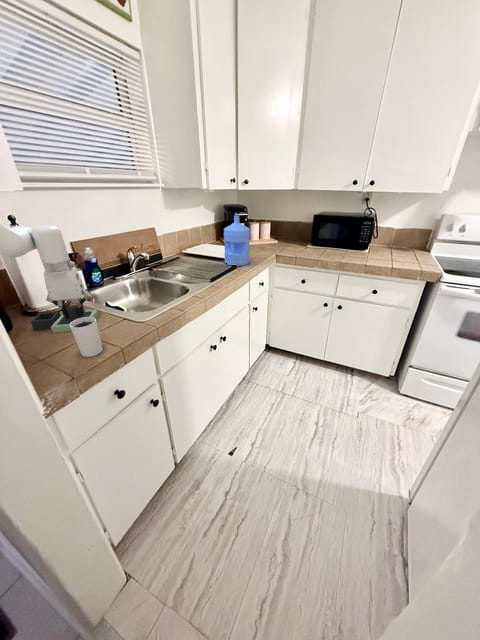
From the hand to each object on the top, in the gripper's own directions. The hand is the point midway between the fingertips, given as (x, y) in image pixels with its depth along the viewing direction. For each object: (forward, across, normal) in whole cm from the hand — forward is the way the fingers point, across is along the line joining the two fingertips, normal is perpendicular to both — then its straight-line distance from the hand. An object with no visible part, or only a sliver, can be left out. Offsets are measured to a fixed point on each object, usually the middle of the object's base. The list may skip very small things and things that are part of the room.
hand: (74, 315), depth 93 cm
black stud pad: (+2, 0, 0) cm, 2 cm away
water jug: (+3, -72, -66) cm, 98 cm away
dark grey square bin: (+3, +10, 0) cm, 10 cm away
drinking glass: (+3, -10, +20) cm, 23 cm away
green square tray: (+3, 0, 0) cm, 3 cm away
